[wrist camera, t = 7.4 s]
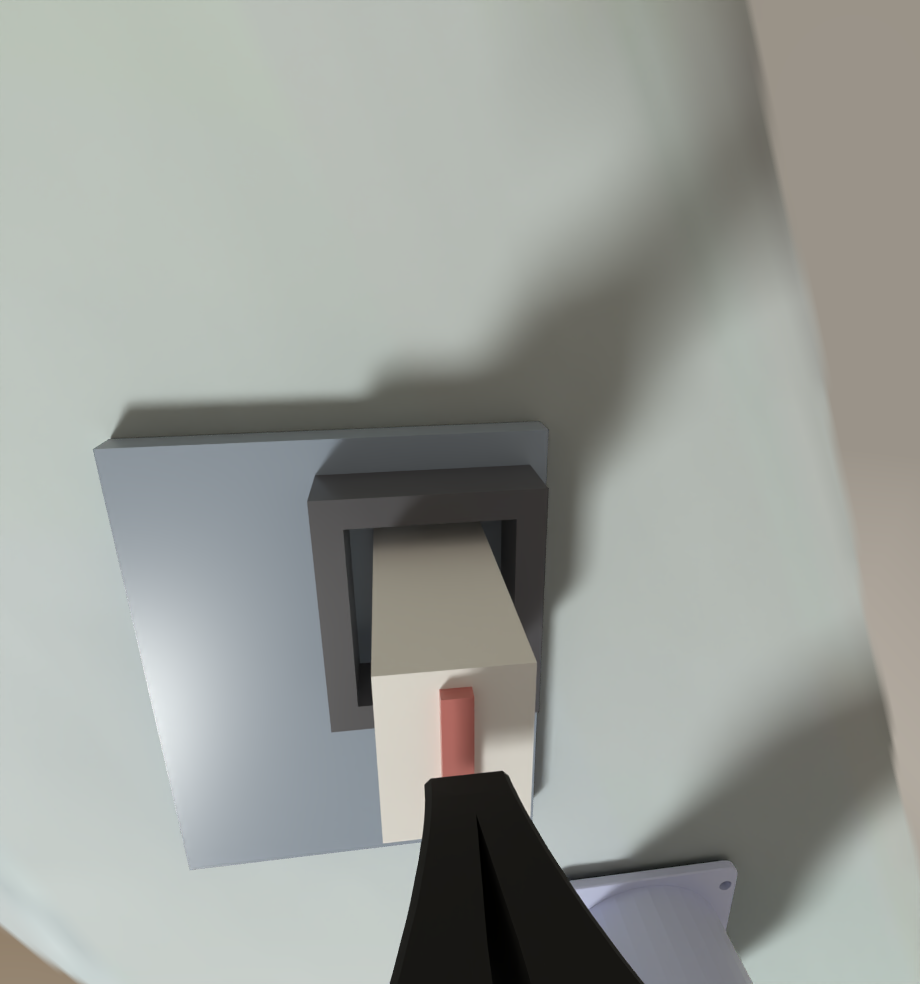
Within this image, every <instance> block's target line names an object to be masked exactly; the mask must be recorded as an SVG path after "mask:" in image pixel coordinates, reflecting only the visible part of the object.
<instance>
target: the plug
mask: <svg viewBox="0 0 920 984" xmlns="http://www.w3.org/2000/svg"><path fill="white" fill-rule="evenodd" d="M536 675H537V661H536V659H535V656H534V654H533V651H532V649H531V646H530V644H529V641H528V639H527V636H526V634H525V632H524V629H523V627H522V624H521V622H520V619H519V617H518V614H517V612H516V609H515V607H514V604H513V602H512V599H511V597H510V595H509V592H508V590H507V587H506V585H505V582H504V580H503V577H502V575H501V572H500V570H499V567H498V565H497V562H496V560H495V558H494V555H493V553H492V550H491V548H490V545H489V543H488V540H487V538H486V535H485V533H484V530H483V528H482V525H481V523H480V522H464V523H447V524H431V525H414V526H397V527H381V528H373V588H372V650H371V683H372V697H373V711H374V725H375V739H376V753H377V767H378V781H379V795H380V809H381V823H382V837H383V843H392V842H400V841H409V840H417V839H422V834H423V825H424V812H425V791H424V784H425V783H426V782H427V781H429V780H430V779H431V778H439V777H448V776H457V775H467V774H476V773H485V772H494V771H504V772H505V773H506V774H507V775H509V777H510V780H511V782H512V784H513V786H514V788H515V790H516V792H517V794H518V796H519V798H520V800H521V802H522V804H523V806H524V808H525V809H526V811H527V813H528V815H529V817H530V816H531V792H532V769H533V745H534V722H535V699H536Z"/></svg>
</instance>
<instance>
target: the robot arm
mask: <svg viewBox="0 0 920 984" xmlns="http://www.w3.org/2000/svg"><path fill="white" fill-rule="evenodd" d="M424 791H425V812H424V825H423V834H422V841H421V848H420V855H419V861H418V866H417V871H416V876H415V881H414V887H413V892H412V897H411V902H410V907H409V911H408V915H407V920H406V923H405V927H404V931H403V935H402V939H401V943H400V947H399V951H398V955H397V958H396V962H395V966H394V970H393V974H392V977H391V981H390V984H753V982H752V980H751V978H750V977H749V975H748V973H747V971H746V969H745V967H744V965H743V963H742V961H741V959H740V958H739V956H738V954H737V952H736V950H735V948H734V946H733V944H732V942H731V940H730V939H729V937H728V935H727V933H726V928H727V924H728V919H729V914H730V909H731V904H732V900H733V895H734V890H735V885H736V880H737V876H738V871H737V869H736V868H735V866H734V864H733V863H732V862H730V861H728V860H722V861H715V862H707V863H700V864H692V865H684V866H677V867H669V868H662V869H654V870H647V871H639V872H631V873H624V874H616V875H609V876H601V877H594V878H586V879H578V880H571V881H569V880H568V878H567V877H566V875H565V874H564V872H563V871H562V869H561V868H560V866H559V865H558V863H557V862H556V860H555V858H554V857H553V855H552V854H551V852H550V850H549V849H548V847H547V846H546V844H545V842H544V841H543V839H542V837H541V836H540V834H539V832H538V830H537V829H536V827H535V825H534V824H533V822H532V820H531V818H530V817H529V815H528V813H527V811H526V809H525V808H524V806H523V804H522V802H521V800H520V798H519V796H518V794H517V792H516V790H515V788H514V786H513V784H512V782H511V780H510V777H509V775H507V774H506V773H505V772H504V771H494V772H485V773H476V774H467V775H457V776H448V777H439V778H431V779H430V780H429V781H427V782H426V783H425V784H424Z"/></svg>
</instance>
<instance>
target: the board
mask: <svg viewBox="0 0 920 984" xmlns="http://www.w3.org/2000/svg"><path fill="white" fill-rule="evenodd" d="M548 431H549V430H548V429H547V428H546V427H545V426H544V425H543V424H542V423H541V422H540V421H534V422H510V423H486V424H462V425H437V426H413V427H389V428H365V429H341V430H316V431H292V432H268V433H244V434H219V435H195V436H171V437H147V438H122V439H108V440H107V441H105V442H104V443H102V444H100V445H99V446H97V447H96V448H94V449H93V452H94V456H95V461H96V465H97V469H98V474H99V478H100V482H101V487H102V491H103V495H104V500H105V504H106V508H107V513H108V517H109V521H110V526H111V530H112V535H113V539H114V543H115V548H116V552H117V556H118V561H119V565H120V569H121V574H122V578H123V582H124V587H125V591H126V595H127V600H128V604H129V608H130V613H131V617H132V621H133V626H134V630H135V634H136V639H137V643H138V647H139V652H140V656H141V660H142V665H143V669H144V674H145V678H146V682H147V687H148V691H149V695H150V700H151V704H152V708H153V713H154V717H155V721H156V726H157V730H158V734H159V739H160V743H161V747H162V752H163V756H164V760H165V765H166V769H167V773H168V778H169V782H170V786H171V791H172V795H173V799H174V804H175V808H176V813H177V817H178V821H179V826H180V830H181V834H182V839H183V843H184V847H185V852H186V856H187V860H188V865H189V869H190V870H195V869H203V868H211V867H220V866H228V865H236V864H244V863H253V862H261V861H269V860H278V859H286V858H294V857H302V856H311V855H319V854H327V853H335V852H344V851H352V850H360V849H369V848H377V847H385V846H393V845H402V844H410V843H418V842H421V841H422V839H417V840H409V841H400V842H392V843H383V837H382V823H381V809H380V795H379V781H378V767H377V753H376V739H375V728H373V729H363V730H353V731H342V732H332V733H331V724H330V715H329V705H328V696H327V686H326V677H325V668H324V658H323V649H322V639H321V630H320V620H319V611H318V601H317V592H316V582H315V573H314V563H313V554H312V544H311V535H310V525H309V516H308V507H307V500H308V496H309V493H310V490H311V487H312V483H313V480H314V477H315V475H331V474H351V473H371V472H392V471H412V470H432V469H452V468H472V467H492V466H512V465H531V467H532V468H533V469H534V470H535V472H536V473H537V474H538V476H539V477H540V478H541V479H542V481H543V482H544V483H545V485H546V479H547V455H548ZM480 523H481V525H482V528H483V530H484V533H485V535H486V538H487V540H488V543H489V545H490V548H491V550H492V553H493V555H494V558H495V560H496V562H497V565H498V567H499V570H500V572H501V524H502V520H497V521H480ZM349 534H350V546H351V558H352V571H353V583H354V595H355V608H356V620H357V632H358V645H359V657H360V663H370V662H371V650H372V588H373V528H364V529H349ZM536 720H537V712H536V713H535V722H534V745H533V769H532V792H531V816H530V818H531V820H532V816H533V792H534V768H535V744H536Z"/></svg>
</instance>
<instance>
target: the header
mask: <svg viewBox="0 0 920 984" xmlns="http://www.w3.org/2000/svg"><path fill="white" fill-rule="evenodd" d="M548 489H549V488H548V487H547V486H546V485H545V483H544V482H543V481H542V479H541V478H540V477H539V476H538V474H537V473H536V472H535V470H534V469H533V468H532V467H531V465H512V466H492V467H472V468H452V469H432V470H412V471H392V472H371V473H351V474H331V475H315V477H314V480H313V483H312V487H311V490H310V493H309V496H308V500H307V507H308V516H309V525H310V535H311V544H312V554H313V563H314V573H315V582H316V592H317V601H318V611H319V620H320V630H321V639H322V649H323V658H324V668H325V677H326V686H327V696H328V705H329V715H330V724H331V733H332V732H342V731H353V730H363V729H373V728H375V725H374V711H373V697H372V683H371V662H370V663H360V657H359V645H358V632H357V620H356V608H355V595H354V583H353V571H352V558H351V546H350V534H349V529H364V528H381V527H397V526H414V525H431V524H447V523H464V522H480V521H497V520H502V524H501V575H502V577H503V580H504V582H505V585H506V587H507V590H508V592H509V595H510V597H511V599H512V602H513V604H514V607H515V609H516V612H517V614H518V617H519V619H520V622H521V624H522V627H523V629H524V632H525V634H526V636H527V639H528V641H529V644H530V646H531V649H532V651H533V654H534V656H535V659H536V661H537V675H536V699H535V713H536V712H539V698H540V675H541V651H542V628H543V605H544V582H545V558H546V535H547V512H548Z"/></svg>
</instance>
